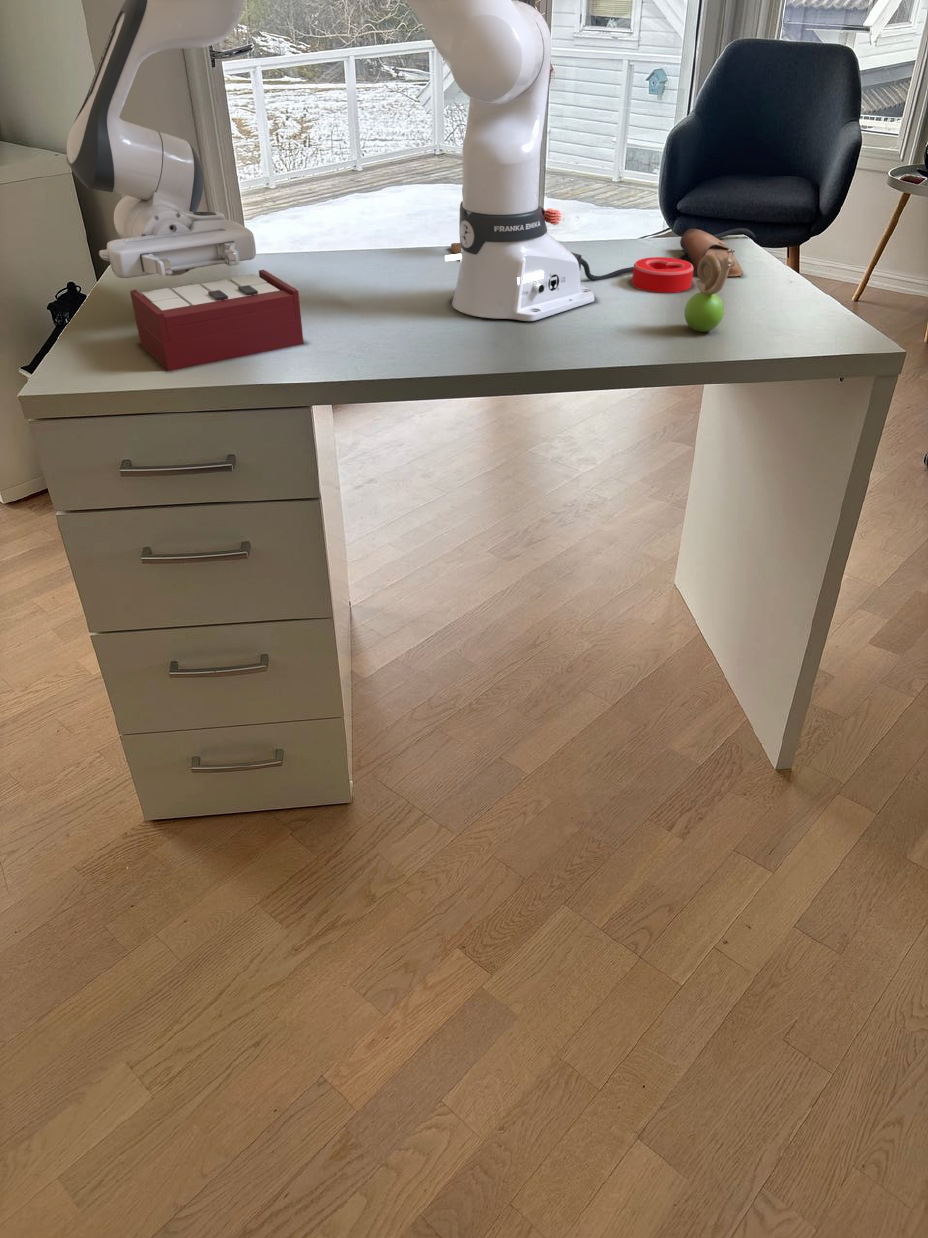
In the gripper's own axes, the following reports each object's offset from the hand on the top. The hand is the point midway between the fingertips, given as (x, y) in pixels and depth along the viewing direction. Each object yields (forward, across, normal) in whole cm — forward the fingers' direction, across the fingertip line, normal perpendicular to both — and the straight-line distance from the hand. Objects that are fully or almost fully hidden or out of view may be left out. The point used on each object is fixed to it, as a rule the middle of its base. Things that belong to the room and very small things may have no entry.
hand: (200, 263), depth 126 cm
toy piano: (+4, 0, +10) cm, 11 cm away
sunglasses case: (+9, +88, +10) cm, 89 cm away
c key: (0, +6, +5) cm, 8 cm away
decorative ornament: (+14, +72, +10) cm, 74 cm away
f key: (0, -6, +5) cm, 8 cm away
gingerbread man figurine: (-19, +54, +10) cm, 59 cm away
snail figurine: (+35, +61, +10) cm, 71 cm away
